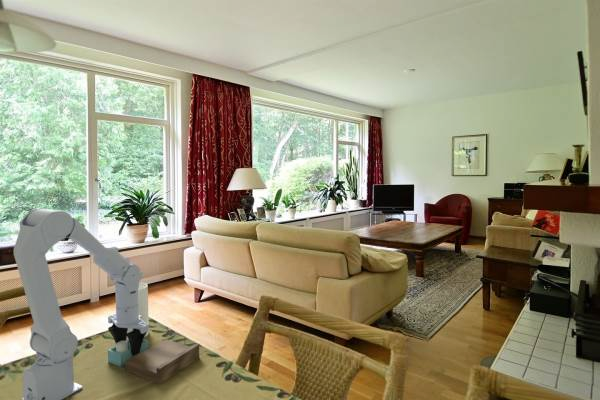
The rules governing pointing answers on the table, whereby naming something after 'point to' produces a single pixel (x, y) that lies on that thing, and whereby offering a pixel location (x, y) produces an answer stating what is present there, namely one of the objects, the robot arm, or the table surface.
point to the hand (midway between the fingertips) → (128, 351)
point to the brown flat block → (162, 360)
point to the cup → (142, 305)
